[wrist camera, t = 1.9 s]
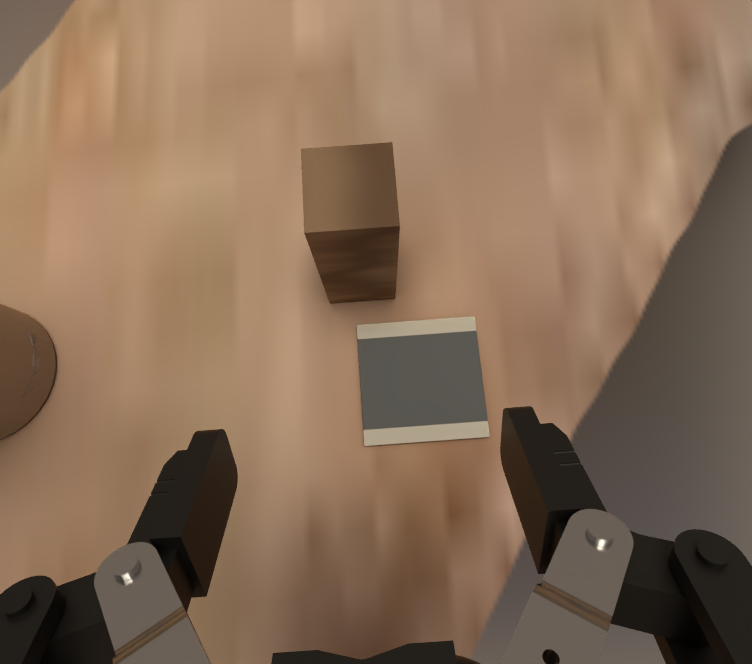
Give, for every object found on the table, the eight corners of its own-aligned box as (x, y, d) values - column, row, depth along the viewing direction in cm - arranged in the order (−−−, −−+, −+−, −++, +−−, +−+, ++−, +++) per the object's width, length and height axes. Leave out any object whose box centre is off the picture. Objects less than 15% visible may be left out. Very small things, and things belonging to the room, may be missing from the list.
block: (329, 302, 34) (304, 232, 23) (326, 242, 35) (301, 149, 24) (395, 298, 34) (399, 225, 23) (390, 237, 35) (392, 142, 24)
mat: (364, 446, 31) (364, 445, 31) (356, 325, 33) (356, 324, 33) (489, 436, 31) (489, 436, 31) (474, 316, 33) (474, 316, 33)
